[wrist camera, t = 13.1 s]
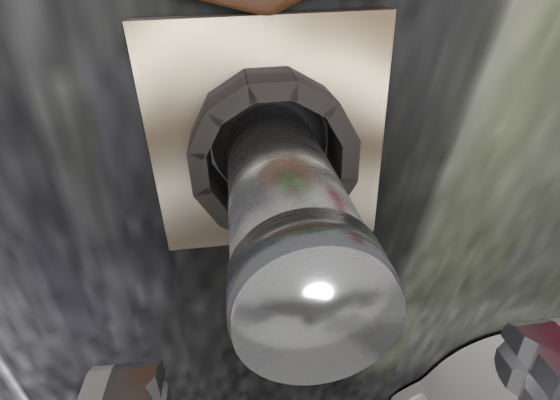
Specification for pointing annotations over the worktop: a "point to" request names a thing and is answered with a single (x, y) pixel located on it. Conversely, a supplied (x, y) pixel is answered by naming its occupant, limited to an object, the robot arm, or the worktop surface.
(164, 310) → the worktop surface
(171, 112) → the duct board
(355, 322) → the frosted cylinder in socket
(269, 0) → the plant
